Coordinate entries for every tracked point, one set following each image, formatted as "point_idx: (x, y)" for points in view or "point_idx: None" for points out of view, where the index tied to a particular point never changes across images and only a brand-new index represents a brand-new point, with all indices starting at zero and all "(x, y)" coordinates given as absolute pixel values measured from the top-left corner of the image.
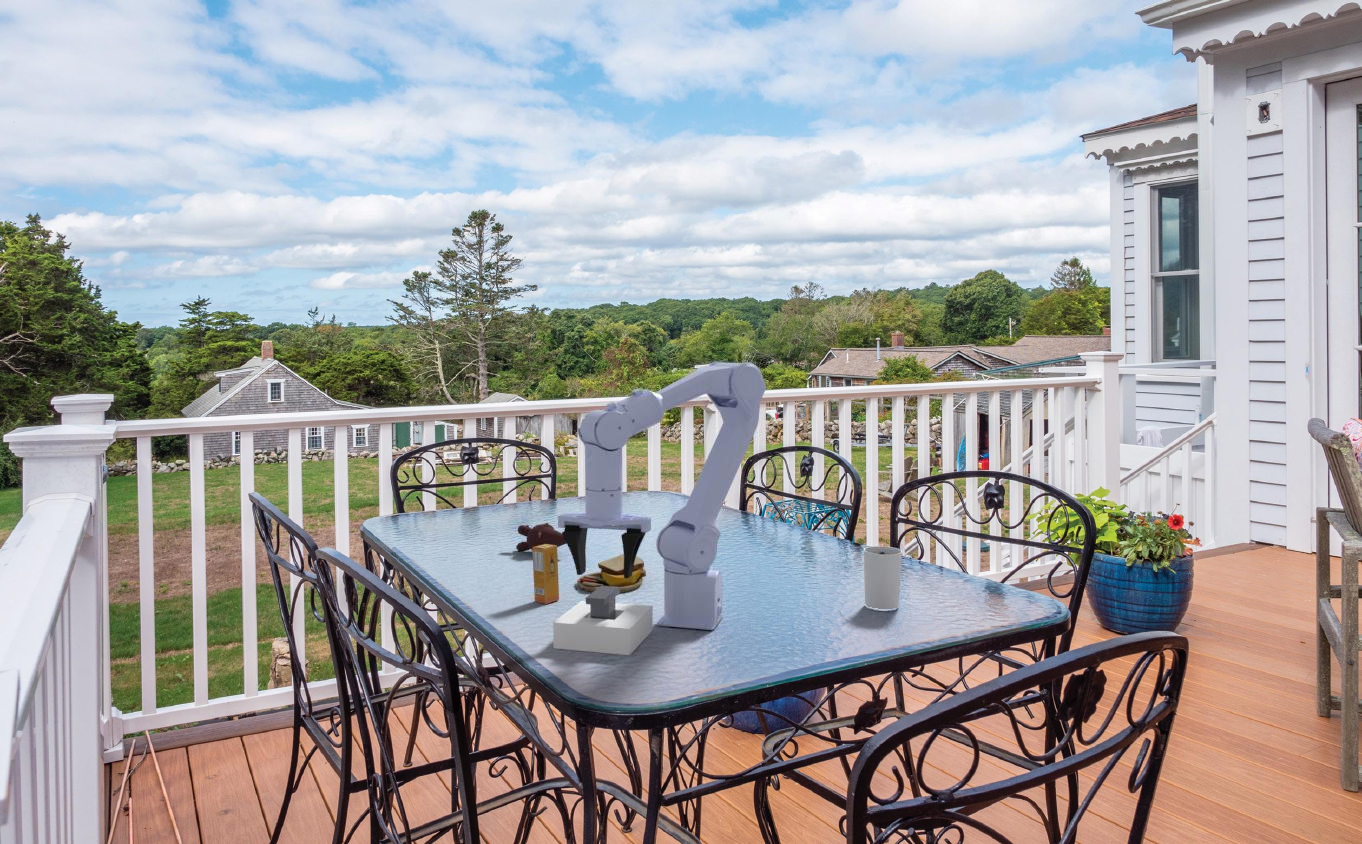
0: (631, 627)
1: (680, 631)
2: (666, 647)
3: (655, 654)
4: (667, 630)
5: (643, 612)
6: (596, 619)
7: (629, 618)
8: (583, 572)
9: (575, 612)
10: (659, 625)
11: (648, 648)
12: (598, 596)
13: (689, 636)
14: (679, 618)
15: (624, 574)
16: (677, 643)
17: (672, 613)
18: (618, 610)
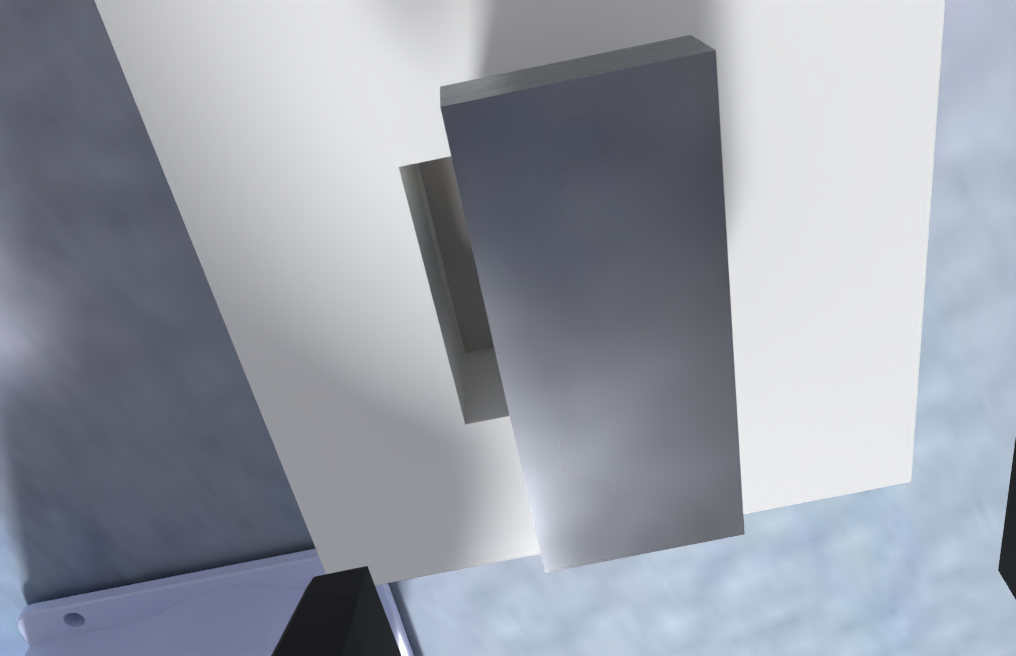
0: (111, 40)
1: (190, 526)
2: (57, 244)
3: (15, 73)
4: (271, 508)
5: (296, 447)
6: None
7: (300, 264)
8: (1012, 520)
9: (847, 196)
10: None
11: (152, 168)
12: (576, 173)
13: (80, 480)
14: (222, 615)
15: (345, 598)
16: (51, 344)
17: (269, 634)
18: None
